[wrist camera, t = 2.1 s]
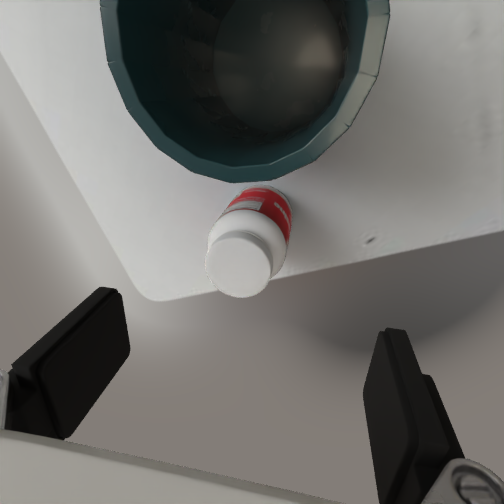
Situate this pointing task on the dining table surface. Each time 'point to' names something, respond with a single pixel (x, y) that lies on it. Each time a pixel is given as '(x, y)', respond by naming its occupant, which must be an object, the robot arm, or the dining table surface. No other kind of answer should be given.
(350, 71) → the teal faceted cylinder
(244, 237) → the pill bottle
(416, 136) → the dining table surface
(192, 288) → the dining table surface
